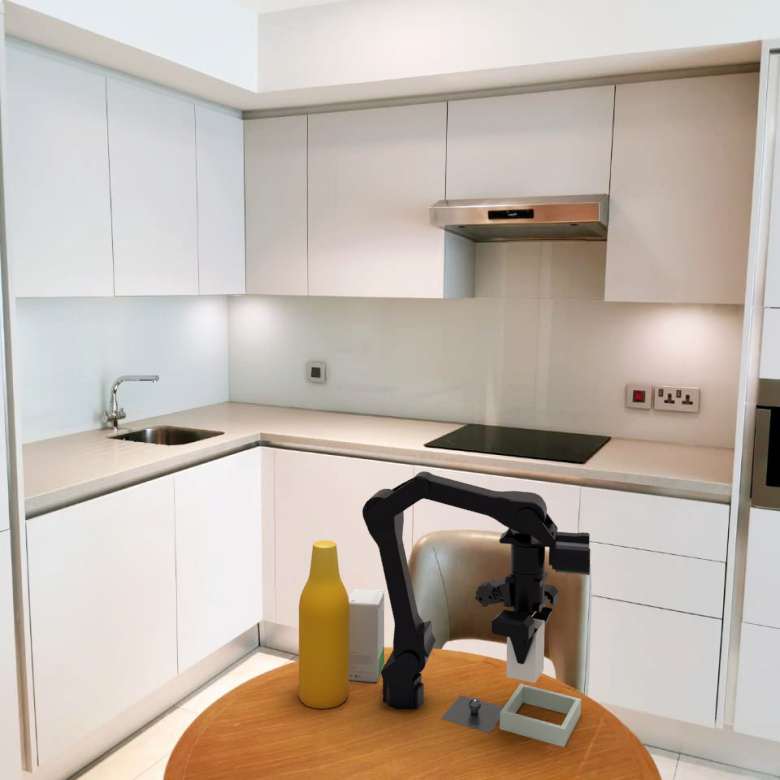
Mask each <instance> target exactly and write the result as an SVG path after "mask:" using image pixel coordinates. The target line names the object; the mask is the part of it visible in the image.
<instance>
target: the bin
mask: <svg viewBox="0 0 780 780" xmlns="http://www.w3.org/2000/svg"><path fill="white" fill-rule="evenodd" d="M522 704H527V705H530V706H534V707H537V708H542V709H546V710H549V711H554V712H558V713H561V714H564V715H566V717H565V718H564V720H563V721H562V724H561V725H559V724H555V723H553V722H548V721H544V720H541V719H536V718H534V717H530V716H527V715H522V714H518V713H517V712H518V711H519V709H520V707H522ZM503 707H504V708H503V709H502V710H501V712H500V720H499V730H502V731H506V732H509V733H512V734H516V735H520V736H524V737H527V738H530V739H534V740H537V741H541V742H545V743H548V744H552V745H554V746H555V745H556V746H558V747H562V748H565V746H566V744H567V743H568V741H569V738H570V737H571V735H572V732H573V731H574V728H575V726H576V725H577V723H578V720H579V719H580V717H581V712H582V711H581V709H582V698H579V697H576V696H571V695H568V694H563V693H559V692H556V691H552V690H547V689H544V688H539V687H535V686H531V685H528V684H524V683H519V685H518V686H517V688H516V689H515V691H514V692H513V693H512V695H511V696H510V698H509V699H508V701H507V702H506V703H505V705H504V706H503Z"/></svg>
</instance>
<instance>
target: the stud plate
mask: <svg viewBox="0 0 780 780" xmlns="http://www.w3.org/2000/svg"><path fill="white" fill-rule="evenodd" d="M503 708H504V706H503V705H502V706H501V705H497V704H495V703H489V702H487V701H482V700H481V699H479V698H478V697H474V696H473V697H467V696H465V695H458V698H457V699H455V701H454V702H453V703H452V704H451V705H450V707H449V708H448V709H447V710H446V712H445V713H444V714H443V715H442V716H441V718H440V720H443V721H447V722H450V723H452V724H457V725H460V726H463V727H466V728H470V729H473V730H474V729H475V730H477V731H480V732H483V733H484V732H485V733H488V734H491V732H493V730H494V728H495V727H496V725H497V724H498V722H500V712H501V710H502V709H503Z"/></svg>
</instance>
